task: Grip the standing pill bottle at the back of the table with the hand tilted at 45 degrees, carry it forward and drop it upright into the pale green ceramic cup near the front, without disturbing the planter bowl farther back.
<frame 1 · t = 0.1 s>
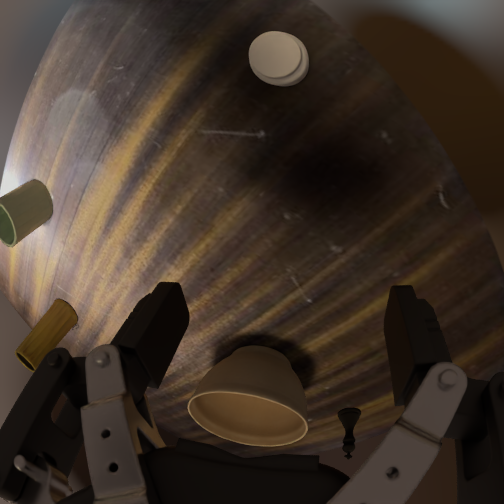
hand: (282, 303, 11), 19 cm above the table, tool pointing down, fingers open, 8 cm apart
cup: (38, 200, 36), on the table
pill bottle: (284, 64, 23), on the table
vase: (66, 310, 48), on the table
chess piece: (349, 412, 48), on the table
planter bowl: (260, 362, 43), on the table
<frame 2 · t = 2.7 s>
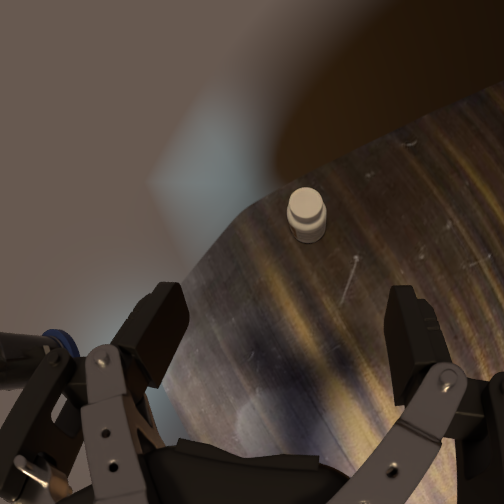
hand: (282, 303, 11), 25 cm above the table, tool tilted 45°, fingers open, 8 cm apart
pill bottle: (308, 227, 37), on the table
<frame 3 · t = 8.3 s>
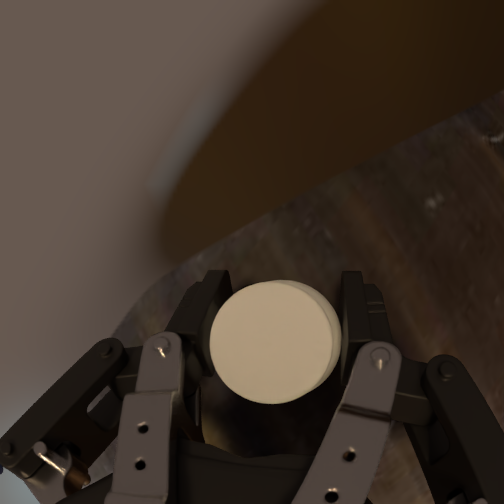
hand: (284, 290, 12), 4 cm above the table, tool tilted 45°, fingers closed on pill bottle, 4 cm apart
pill bottle: (291, 335, 15), on the table, touching gripper
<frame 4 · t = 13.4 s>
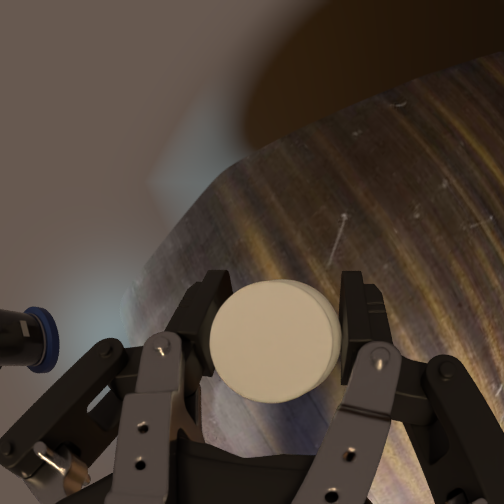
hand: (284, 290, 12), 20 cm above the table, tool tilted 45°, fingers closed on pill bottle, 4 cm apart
pill bottle: (291, 335, 15), point 15 cm above the table, touching gripper
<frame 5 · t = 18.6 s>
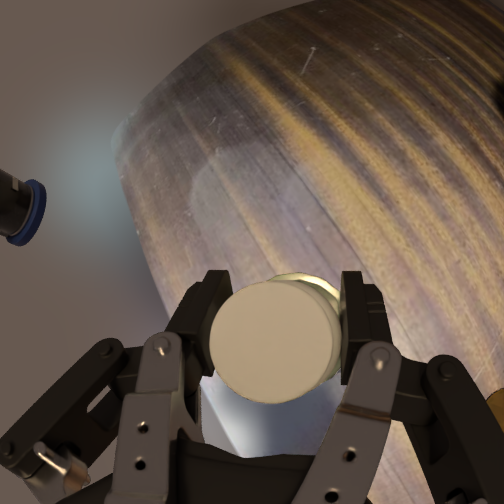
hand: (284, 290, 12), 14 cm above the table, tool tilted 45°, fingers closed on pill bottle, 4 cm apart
cup: (301, 329, 24), on the table
pill bottle: (291, 335, 15), point 9 cm above the table, touching gripper
vase: (496, 416, 17), on the table
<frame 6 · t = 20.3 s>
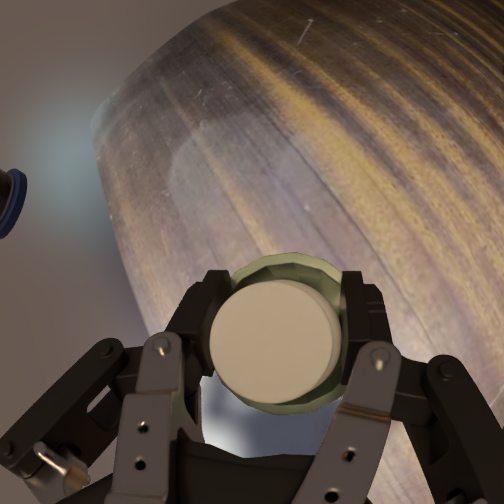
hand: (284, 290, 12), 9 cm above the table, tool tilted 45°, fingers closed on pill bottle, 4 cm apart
cup: (298, 331, 19), on the table
pill bottle: (291, 335, 15), point 4 cm above the table, touching gripper
when the fingers open (10 cm above the table, at t = 29.1 s): pill bottle drops 5 cm, resting on cup.
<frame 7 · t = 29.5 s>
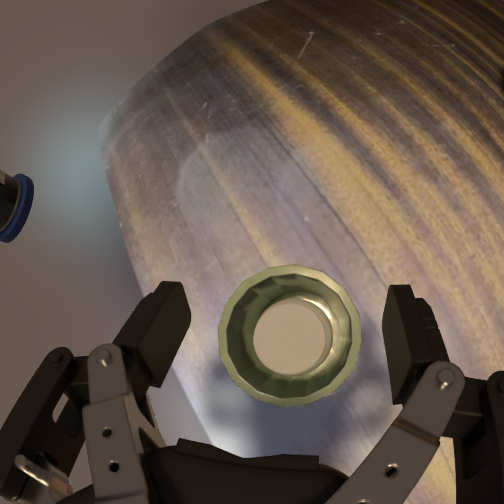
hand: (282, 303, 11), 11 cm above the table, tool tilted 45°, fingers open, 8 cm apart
cup: (298, 333, 21), on the table
pill bottle: (298, 334, 21), resting on cup
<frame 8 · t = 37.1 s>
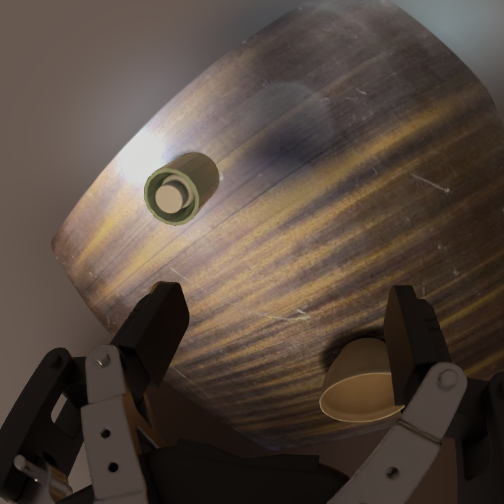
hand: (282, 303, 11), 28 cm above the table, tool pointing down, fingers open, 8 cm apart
cup: (195, 176, 39), on the table
pill bottle: (193, 178, 39), resting on cup
planter bowl: (363, 352, 51), on the table
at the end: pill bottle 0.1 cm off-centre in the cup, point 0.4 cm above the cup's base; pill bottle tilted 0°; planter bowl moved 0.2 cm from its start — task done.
